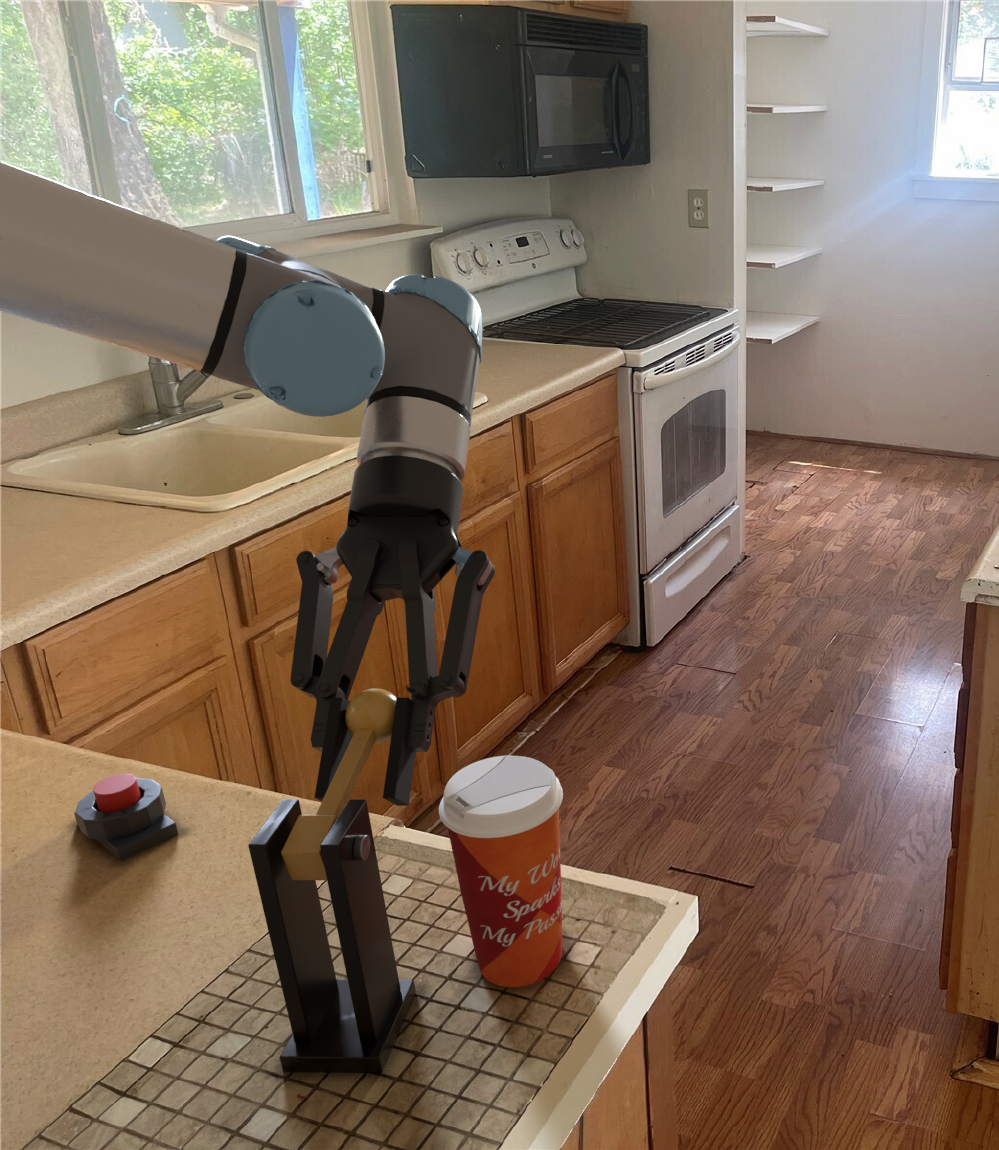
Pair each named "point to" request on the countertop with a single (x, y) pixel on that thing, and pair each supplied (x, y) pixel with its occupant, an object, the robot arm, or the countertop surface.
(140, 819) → the button base
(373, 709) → the lever
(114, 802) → the set button
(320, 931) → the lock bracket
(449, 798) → the paper cup
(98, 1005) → the countertop surface
